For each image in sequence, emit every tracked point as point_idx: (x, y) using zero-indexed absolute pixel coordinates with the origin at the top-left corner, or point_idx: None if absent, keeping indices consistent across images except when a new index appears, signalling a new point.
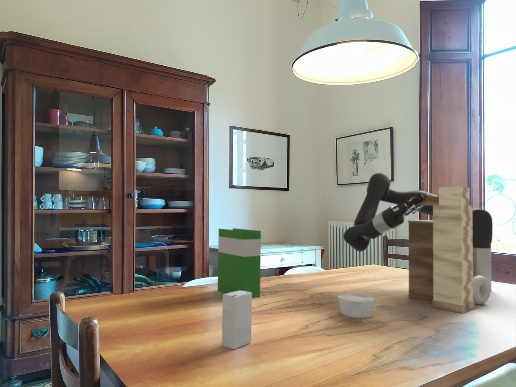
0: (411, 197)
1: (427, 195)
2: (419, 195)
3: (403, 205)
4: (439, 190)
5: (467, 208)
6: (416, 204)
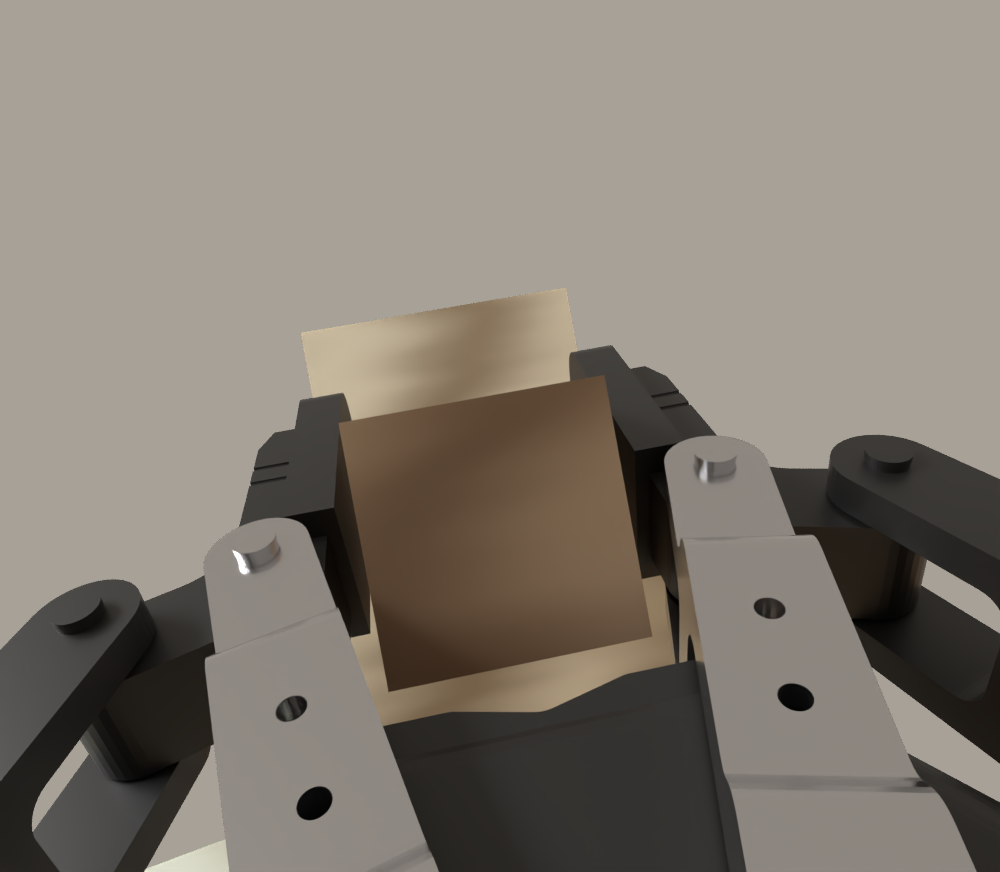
0: (603, 394)
1: (345, 402)
2: (616, 359)
3: (771, 741)
4: (573, 328)
5: None
6: (651, 563)
